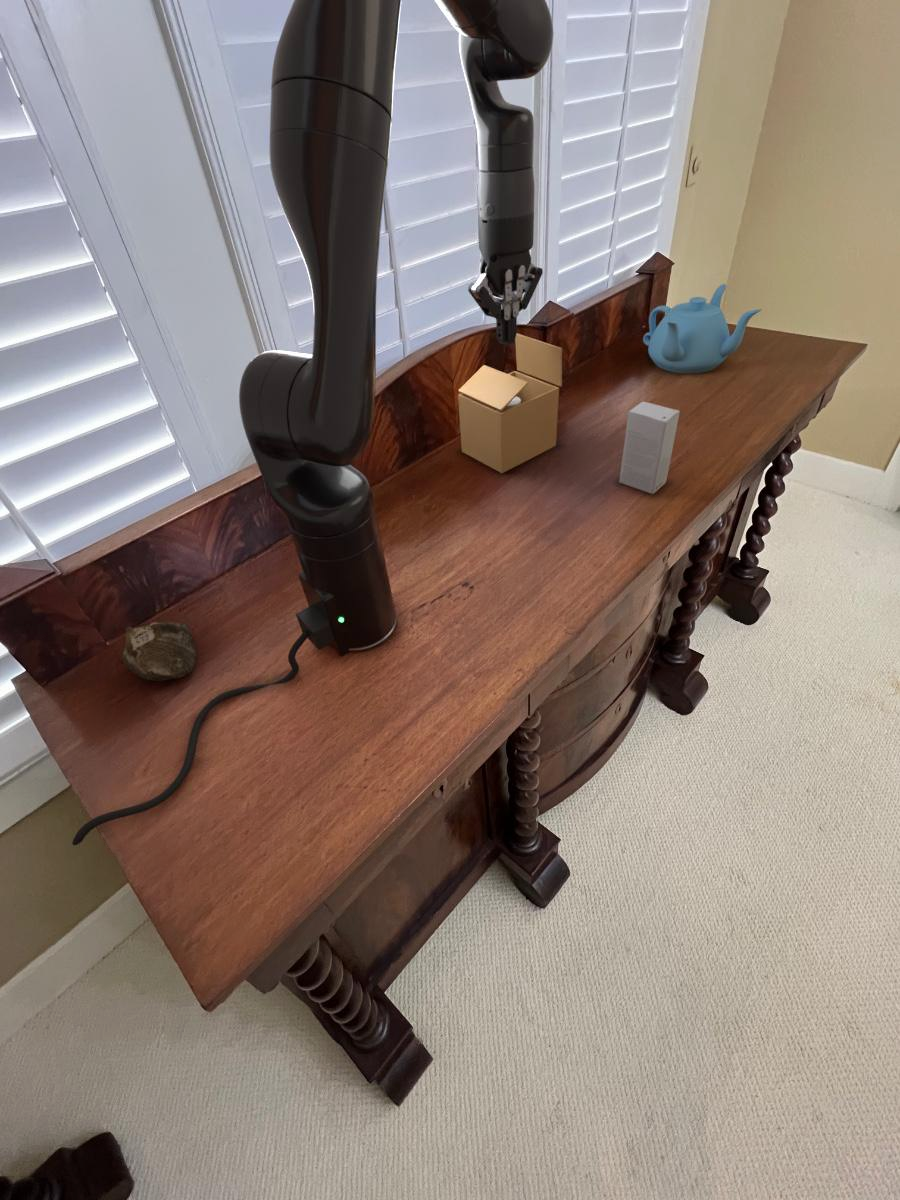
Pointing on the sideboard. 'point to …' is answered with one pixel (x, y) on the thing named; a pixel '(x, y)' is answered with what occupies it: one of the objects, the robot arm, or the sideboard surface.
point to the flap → (493, 387)
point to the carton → (516, 412)
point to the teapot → (693, 335)
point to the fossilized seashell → (160, 651)
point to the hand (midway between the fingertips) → (506, 343)
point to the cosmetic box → (648, 446)
